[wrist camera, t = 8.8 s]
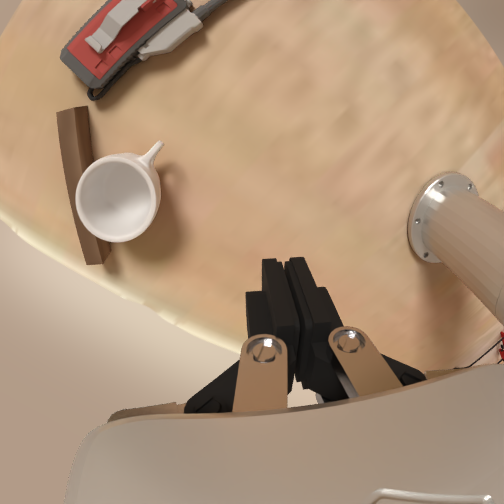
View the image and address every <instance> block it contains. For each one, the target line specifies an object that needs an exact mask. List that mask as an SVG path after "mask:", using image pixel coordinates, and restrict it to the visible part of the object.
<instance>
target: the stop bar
mask: <svg viewBox="0 0 504 504" xmlns="http://www.w3.org/2000/svg"><path fill="white" fill-rule="evenodd" d="M56 114H57V124H58V133H59V141H60V148H61V155H62V162H63V168H64V173H65V179H66V184H67V189H68V194H69V199H70V204H71V208H72V212H73V217H74V221H75V225H76V229H77V233H78V237H79V240H80V244H81V247H82V251H83V254H84V258H85V261H86V264H87V265H95V264H103V263H104V261H105V259H106V258H107V256H108V254H109V253H110V251H111V248H110V244H109V241H105V240H102V239H100V238H98V237H96V236H95V235H93V234H92V233H91V232H90V231H89V230H88V229H87V228H86V227H85V226H84V224H83V223H82V221H81V219H80V217H79V215H78V212H77V208H76V189H77V185H78V183H79V180H80V178H81V176H82V175H83V173H84V172H85V170H86V169H87V168H88V167H89V166H90V165H91V164H92V163H94V162H93V155H92V148H91V140H90V131H89V121H88V110H87V106H82V107H75V108H71V109H67V110H63V111H60V112H56Z"/></svg>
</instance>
